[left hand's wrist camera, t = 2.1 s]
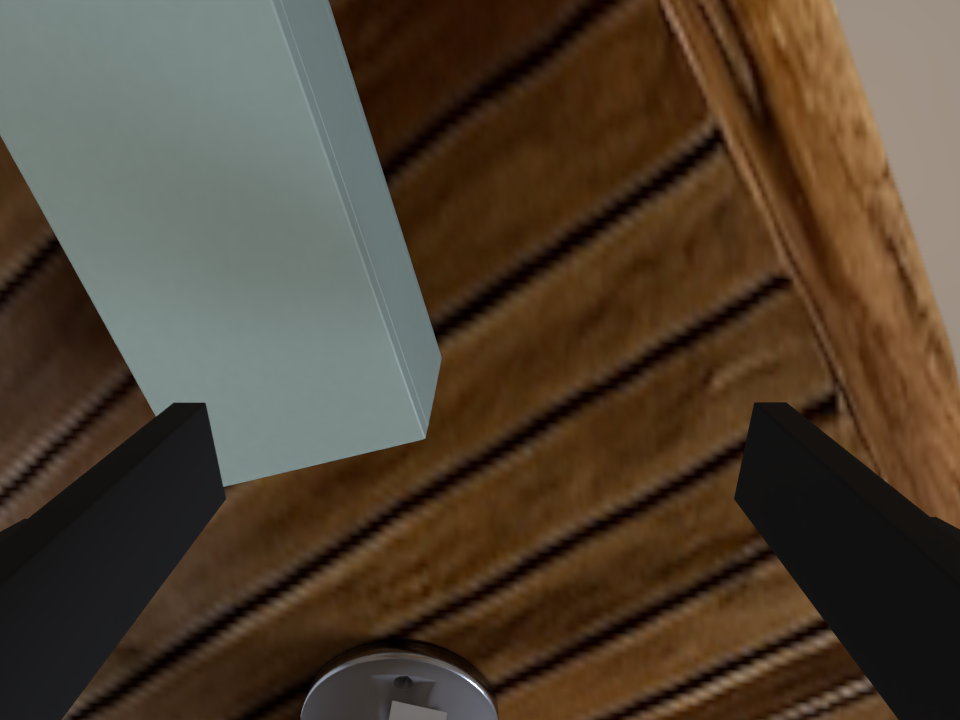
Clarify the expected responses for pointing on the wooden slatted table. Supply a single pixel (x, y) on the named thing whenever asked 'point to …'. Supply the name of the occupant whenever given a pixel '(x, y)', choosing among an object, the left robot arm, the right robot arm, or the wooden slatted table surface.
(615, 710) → the wooden slatted table surface
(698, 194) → the wooden slatted table surface
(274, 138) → the cabinet
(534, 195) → the wooden slatted table surface
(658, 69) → the wooden slatted table surface
